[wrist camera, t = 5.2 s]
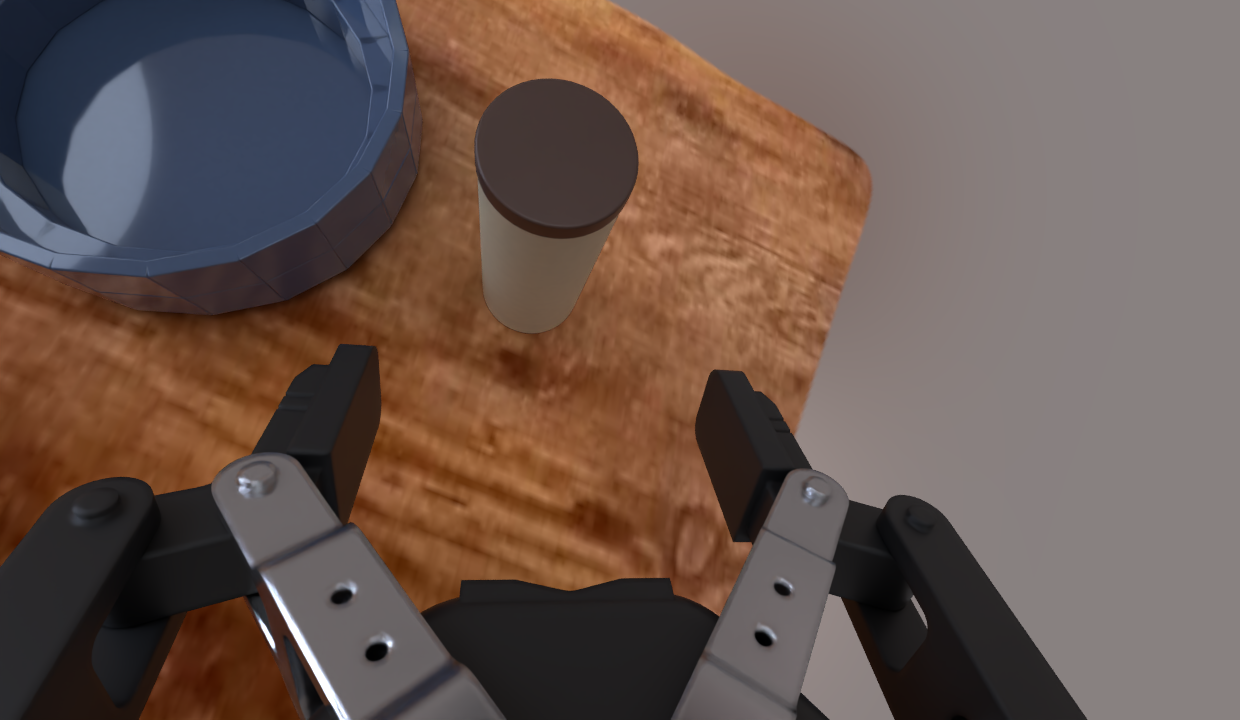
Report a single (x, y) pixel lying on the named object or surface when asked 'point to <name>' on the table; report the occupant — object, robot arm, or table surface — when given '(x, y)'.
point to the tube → (547, 196)
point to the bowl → (202, 144)
